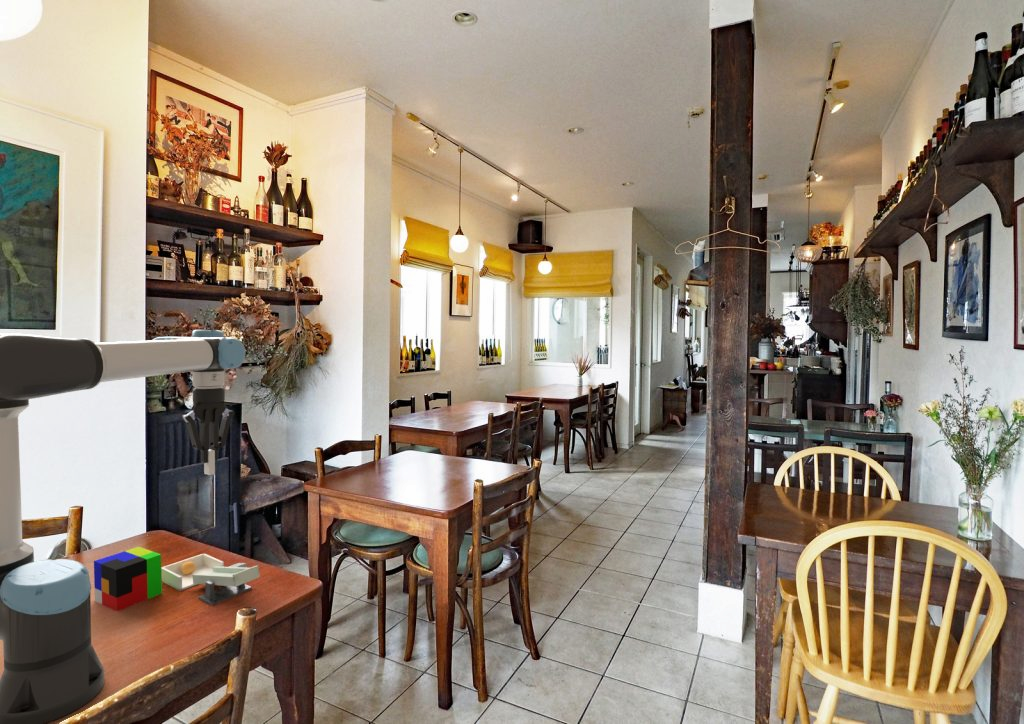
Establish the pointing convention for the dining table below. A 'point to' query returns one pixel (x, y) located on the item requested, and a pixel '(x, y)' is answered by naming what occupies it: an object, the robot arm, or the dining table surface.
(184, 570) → the ball
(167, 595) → the dining table surface
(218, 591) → the fulcrum
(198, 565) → the tray
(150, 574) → the puzzle toy
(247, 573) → the lever
